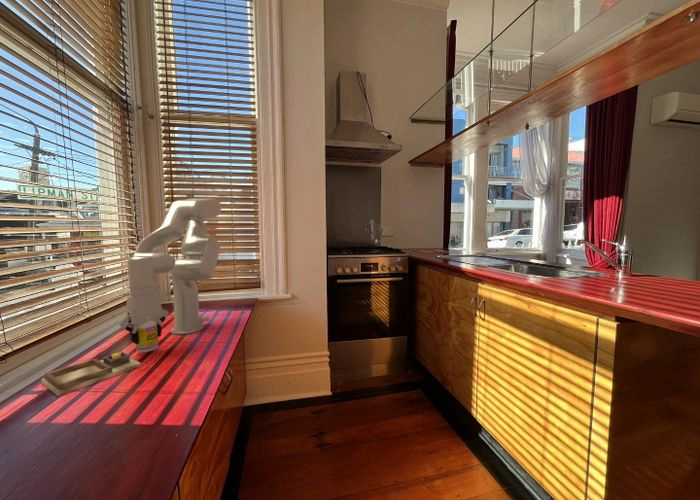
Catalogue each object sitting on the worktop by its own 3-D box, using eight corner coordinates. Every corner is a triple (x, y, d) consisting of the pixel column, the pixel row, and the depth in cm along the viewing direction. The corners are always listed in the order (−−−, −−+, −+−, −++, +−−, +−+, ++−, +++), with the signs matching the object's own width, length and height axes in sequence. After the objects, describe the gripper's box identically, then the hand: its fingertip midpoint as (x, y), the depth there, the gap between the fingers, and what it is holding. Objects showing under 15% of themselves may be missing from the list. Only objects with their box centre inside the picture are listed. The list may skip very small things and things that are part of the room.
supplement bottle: (147, 353, 104) (144, 318, 103) (131, 352, 106) (128, 316, 104) (163, 345, 111) (160, 312, 110) (147, 344, 112) (145, 310, 111)
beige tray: (121, 357, 104) (121, 347, 104) (140, 366, 98) (140, 356, 97) (41, 383, 87) (40, 371, 87) (58, 396, 80) (57, 383, 80)
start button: (119, 359, 99) (118, 352, 99) (122, 361, 98) (122, 353, 98) (110, 362, 97) (110, 354, 97) (114, 364, 96) (113, 356, 95)
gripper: (163, 284, 115) (166, 329, 117) (109, 294, 100) (113, 345, 102) (174, 287, 112) (177, 333, 114) (119, 297, 97) (124, 350, 99)
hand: (146, 338), depth 108 cm, fingers closed on supplement bottle, 6 cm apart
